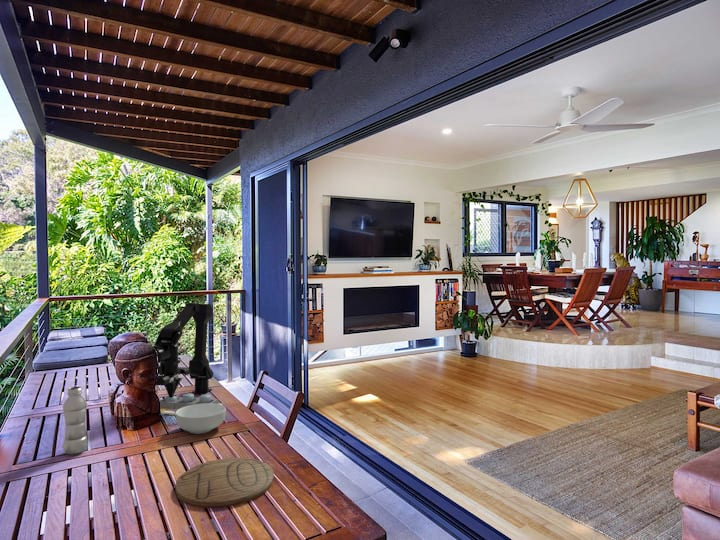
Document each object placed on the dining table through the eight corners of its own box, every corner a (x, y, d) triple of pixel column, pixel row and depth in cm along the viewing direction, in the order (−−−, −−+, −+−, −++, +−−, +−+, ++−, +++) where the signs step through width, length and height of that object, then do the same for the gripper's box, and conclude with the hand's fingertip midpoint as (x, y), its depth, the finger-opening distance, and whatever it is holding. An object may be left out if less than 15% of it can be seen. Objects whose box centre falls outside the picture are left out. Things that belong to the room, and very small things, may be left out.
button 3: (203, 401, 187) (203, 394, 187) (213, 402, 186) (213, 394, 186) (197, 404, 183) (197, 397, 183) (207, 405, 182) (207, 397, 182)
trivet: (177, 519, 107) (177, 510, 107) (173, 473, 130) (173, 466, 130) (283, 496, 117) (283, 489, 117) (263, 458, 140) (263, 451, 140)
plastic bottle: (62, 458, 139) (61, 392, 139) (64, 450, 145) (63, 386, 145) (87, 454, 142) (86, 389, 142) (88, 446, 148) (87, 384, 148)
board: (169, 402, 194) (169, 394, 194) (223, 405, 190) (223, 397, 190) (148, 413, 180) (148, 405, 180) (205, 417, 176) (205, 408, 176)
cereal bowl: (235, 429, 164) (235, 409, 163) (190, 442, 151) (190, 421, 151) (210, 418, 175) (210, 399, 175) (166, 430, 163) (166, 410, 163)
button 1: (169, 402, 190) (169, 395, 190) (179, 403, 189) (179, 395, 189) (162, 405, 186) (162, 398, 186) (172, 406, 185) (172, 399, 185)
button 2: (186, 400, 189) (186, 393, 189) (196, 401, 188) (195, 393, 188) (179, 403, 184) (179, 396, 184) (190, 404, 183) (190, 396, 183)
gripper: (166, 353, 198) (166, 389, 198) (137, 363, 179) (138, 403, 180) (190, 354, 196) (190, 391, 196) (163, 364, 177) (164, 404, 178)
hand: (171, 397), depth 187 cm, fingers closed, pressing on button 1
